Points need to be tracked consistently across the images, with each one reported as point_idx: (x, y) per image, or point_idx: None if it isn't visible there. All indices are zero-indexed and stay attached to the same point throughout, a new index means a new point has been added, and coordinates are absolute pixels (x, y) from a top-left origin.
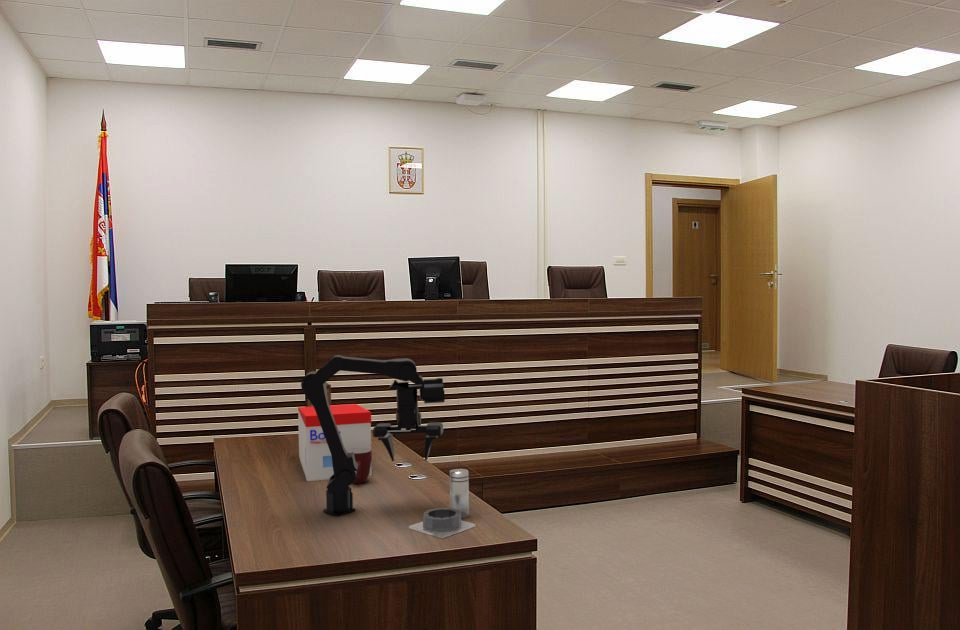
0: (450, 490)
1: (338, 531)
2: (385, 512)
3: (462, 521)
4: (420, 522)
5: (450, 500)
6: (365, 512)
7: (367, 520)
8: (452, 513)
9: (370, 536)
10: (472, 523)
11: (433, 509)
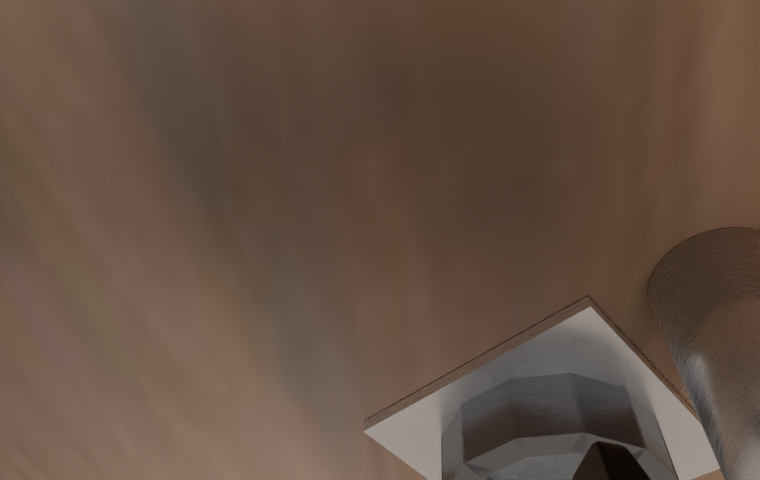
0: (715, 451)
1: (5, 403)
2: (170, 144)
3: (680, 420)
4: (429, 399)
5: (684, 376)
6: (13, 122)
7: (95, 282)
8: None
9: (188, 471)
10: None
11: (518, 450)
